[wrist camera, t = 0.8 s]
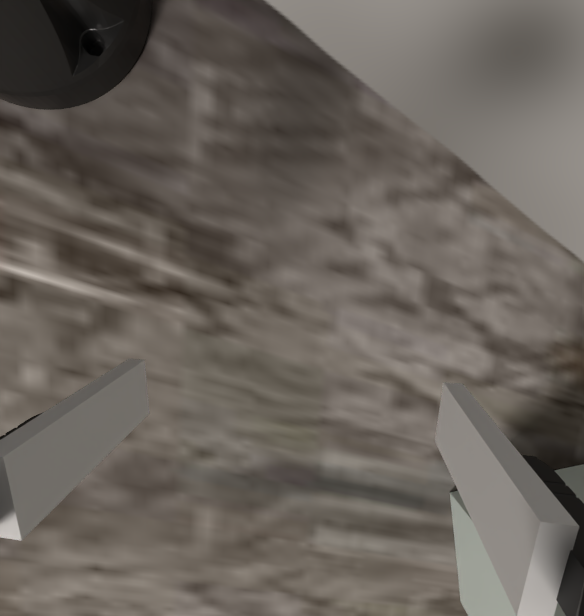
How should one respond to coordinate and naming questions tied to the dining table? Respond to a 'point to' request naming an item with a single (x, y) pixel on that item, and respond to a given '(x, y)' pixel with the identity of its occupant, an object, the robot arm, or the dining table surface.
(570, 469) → the box
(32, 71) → the robot arm
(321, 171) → the dining table surface
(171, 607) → the dining table surface
